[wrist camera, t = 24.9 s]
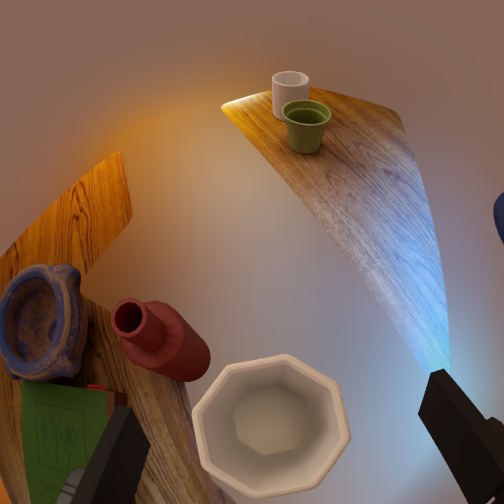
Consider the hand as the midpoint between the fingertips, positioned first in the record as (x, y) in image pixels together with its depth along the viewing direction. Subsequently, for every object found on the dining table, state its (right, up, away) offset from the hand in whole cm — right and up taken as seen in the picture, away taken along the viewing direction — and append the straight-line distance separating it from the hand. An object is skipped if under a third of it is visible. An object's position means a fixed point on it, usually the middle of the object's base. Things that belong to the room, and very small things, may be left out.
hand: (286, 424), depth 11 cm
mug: (+9, +41, +54) cm, 69 cm away
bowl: (-33, -7, +29) cm, 44 cm away
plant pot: (+9, +29, +47) cm, 56 cm away
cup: (+1, -14, +22) cm, 26 cm away
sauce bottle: (-10, -7, +27) cm, 30 cm away
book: (-27, -24, +19) cm, 41 cm away
